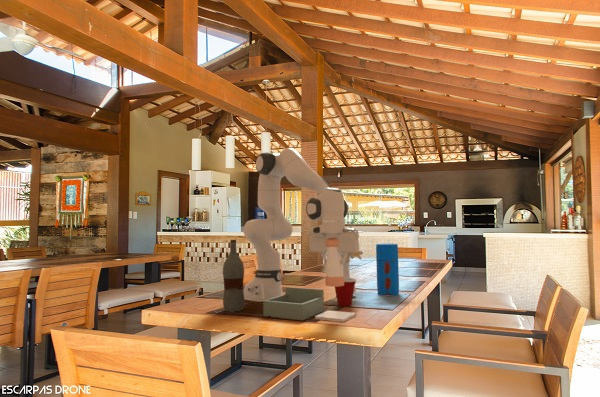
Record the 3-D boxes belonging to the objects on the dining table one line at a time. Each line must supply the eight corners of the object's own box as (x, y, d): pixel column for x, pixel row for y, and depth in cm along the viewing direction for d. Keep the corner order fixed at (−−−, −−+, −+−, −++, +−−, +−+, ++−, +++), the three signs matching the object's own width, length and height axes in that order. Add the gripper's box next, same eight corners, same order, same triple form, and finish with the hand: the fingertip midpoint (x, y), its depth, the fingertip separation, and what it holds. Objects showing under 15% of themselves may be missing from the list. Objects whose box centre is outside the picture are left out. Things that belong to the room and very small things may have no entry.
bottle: (238, 313, 178) (238, 240, 179) (219, 312, 180) (218, 240, 182) (248, 308, 187) (247, 239, 188) (229, 307, 189) (228, 239, 191)
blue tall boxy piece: (377, 295, 213) (376, 244, 214) (377, 292, 223) (375, 243, 224) (399, 295, 211) (398, 244, 212) (398, 292, 221) (397, 243, 223)
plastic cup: (356, 308, 183) (355, 279, 184) (331, 307, 185) (330, 279, 186) (358, 303, 194) (357, 276, 194) (334, 302, 196) (333, 276, 197)
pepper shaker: (346, 286, 164) (345, 236, 166) (328, 287, 163) (327, 236, 164) (340, 283, 172) (339, 235, 173) (323, 284, 170) (322, 235, 171)
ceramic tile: (314, 318, 164) (314, 316, 164) (328, 312, 175) (328, 310, 175) (343, 322, 158) (343, 319, 158) (355, 315, 169) (355, 313, 169)
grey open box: (263, 316, 171) (263, 293, 172) (286, 307, 187) (286, 286, 187) (302, 320, 162) (302, 296, 163) (324, 311, 178) (323, 289, 178)
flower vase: (327, 294, 220) (326, 245, 221) (363, 294, 218) (362, 244, 219) (326, 298, 207) (325, 246, 208) (364, 298, 205) (363, 246, 206)
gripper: (361, 228, 166) (362, 264, 165) (314, 228, 176) (315, 262, 175) (355, 228, 161) (356, 265, 160) (307, 229, 171) (307, 264, 170)
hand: (334, 264), depth 168 cm, fingers closed on pepper shaker, 5 cm apart
